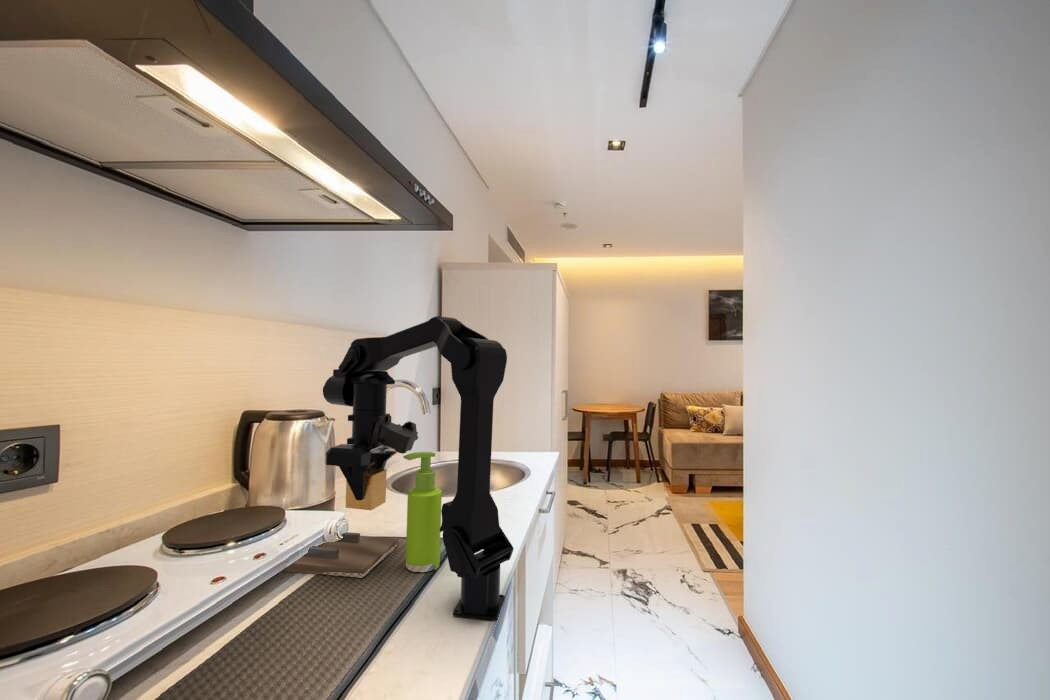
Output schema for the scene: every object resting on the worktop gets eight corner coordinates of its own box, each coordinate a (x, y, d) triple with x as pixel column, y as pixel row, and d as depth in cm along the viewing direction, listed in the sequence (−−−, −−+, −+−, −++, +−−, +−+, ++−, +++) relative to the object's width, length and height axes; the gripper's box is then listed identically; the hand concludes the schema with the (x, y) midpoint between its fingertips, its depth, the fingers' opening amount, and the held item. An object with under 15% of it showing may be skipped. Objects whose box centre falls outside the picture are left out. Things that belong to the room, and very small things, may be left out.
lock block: (371, 510, 83) (372, 475, 83) (345, 507, 84) (346, 473, 84) (385, 502, 88) (386, 469, 88) (361, 499, 89) (362, 467, 89)
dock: (363, 579, 79) (363, 560, 79) (285, 571, 81) (286, 553, 81) (397, 546, 93) (398, 531, 93) (330, 540, 95) (331, 525, 95)
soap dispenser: (394, 566, 84) (397, 451, 85) (429, 556, 89) (432, 447, 89) (409, 578, 80) (413, 457, 80) (445, 567, 84) (449, 453, 85)
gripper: (390, 416, 76) (387, 515, 76) (429, 405, 95) (427, 485, 94) (325, 413, 78) (321, 510, 77) (376, 403, 96) (373, 481, 96)
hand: (366, 495), depth 86 cm, fingers closed on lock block, 5 cm apart
